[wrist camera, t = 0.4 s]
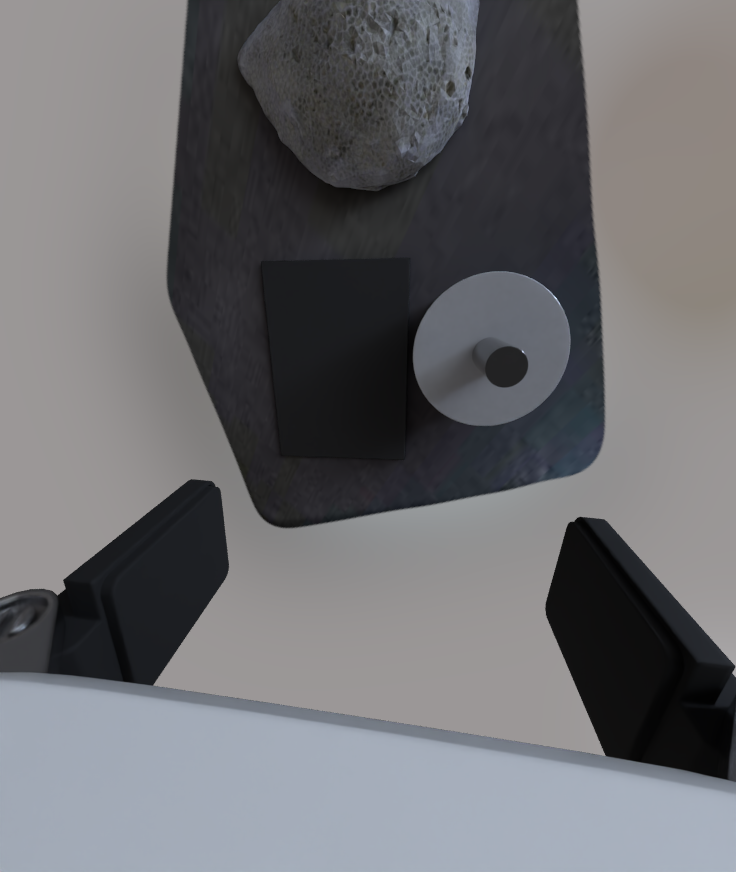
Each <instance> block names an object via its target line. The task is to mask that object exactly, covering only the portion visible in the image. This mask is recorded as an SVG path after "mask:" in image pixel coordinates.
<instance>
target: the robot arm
mask: <svg viewBox="0 0 736 872" xmlns="http://www.w3.org/2000/svg"><path fill="white" fill-rule="evenodd" d="M228 569H229V562H228V553H227V544H226V536H225V526H224V517H223V508H222V499H221V492H220V489H219V488H218V487H215V484H214V483H213V482H212V481H204V480H192V479H191V480H189V481H187V482H186V483H185V484H184V485H182V486H181V487H180V488H179V489H178V490H176V491H175V492H174V493H172V494H171V495H170V496H169V497H167V498H166V499H165V500H164V501H162V502H161V503H160V504H158V505H157V506H156V507H155V508H153V509H152V510H151V511H150V512H148V513H147V514H146V515H145V516H143V517H142V518H141V519H140V520H138V521H137V522H136V523H135V524H133V525H132V526H131V527H130V528H128V529H127V530H126V531H124V532H123V533H122V534H121V535H119V536H118V537H117V538H116V539H114V540H113V541H112V542H111V543H109V544H108V545H107V546H106V547H104V548H103V549H102V550H101V551H99V552H98V553H97V554H95V556H93V557H92V558H90V559H89V560H88V561H87V562H85V563H84V564H83V565H82V566H80V567H79V568H78V569H77V570H75V571H74V572H73V573H72V574H70V575H69V576H68V577H67V578H65V579H64V580H63V581H64V584H65V587H66V589H65V590H64V591H63V592H62V593H60V594H59V595H58V596H57V595H56V594H55V593H54V592H53V591H50V590H45V589H30V590H26V591H21V592H16V593H14V594H11V595H8V596H5V597H2V598H0V872H736V677H735V676H734V675H733V674H732V672H733V670H734V668H735V665H734V664H733V663H732V662H731V661H730V660H729V659H728V658H727V656H726V655H725V654H724V653H723V652H722V651H721V650H720V649H719V647H718V646H717V645H716V644H715V643H714V642H713V641H712V640H711V639H710V637H709V636H708V635H707V634H706V633H705V632H704V630H702V628H701V627H700V626H699V625H698V624H697V623H696V621H695V620H694V619H693V618H692V617H691V616H690V615H689V614H688V612H687V611H686V610H685V609H684V608H683V607H682V606H681V605H680V604H679V602H678V601H677V600H676V599H675V598H674V597H673V596H672V594H671V593H670V592H669V591H668V590H667V589H666V588H665V587H664V585H663V584H662V583H661V582H660V581H659V580H658V579H657V578H656V576H655V575H654V574H653V573H652V572H651V571H650V570H649V569H648V567H647V566H646V565H645V564H644V563H643V562H642V561H641V559H639V557H638V556H637V555H636V554H635V553H634V552H633V550H632V549H631V548H630V547H629V546H628V545H627V544H626V543H625V541H624V540H623V539H622V538H621V537H620V536H619V535H618V534H617V533H616V531H615V530H614V529H613V528H612V527H611V526H610V525H609V523H608V522H607V521H605V520H604V519H595V518H585V517H579V518H577V519H576V520H575V522H570V523H569V524H568V526H567V528H566V532H565V536H564V539H563V543H562V547H561V550H560V554H559V557H558V561H557V565H556V568H555V572H554V576H553V579H552V583H551V586H550V590H549V594H548V597H547V601H546V608H545V609H546V616H547V619H548V621H549V624H550V626H551V628H552V631H553V633H554V636H555V638H556V640H557V643H558V645H559V647H560V650H561V652H562V654H563V657H564V659H565V661H566V664H567V666H568V668H569V671H570V673H571V675H572V678H573V680H574V682H575V685H576V687H577V690H578V692H579V694H580V696H581V699H582V701H583V704H584V706H585V708H586V711H587V713H588V715H589V718H590V720H591V722H592V725H593V727H594V729H595V732H596V734H597V736H598V739H599V741H600V744H601V746H602V748H603V751H604V753H605V755H606V756H601V755H595V754H590V753H585V752H579V751H573V750H566V749H560V748H554V747H548V746H542V745H535V744H529V743H522V742H517V741H510V740H504V739H497V738H491V737H485V736H479V735H472V734H467V733H460V732H454V731H448V730H442V729H435V728H428V727H422V726H416V725H410V724H403V723H397V722H390V721H384V720H377V719H370V718H365V717H358V716H352V715H345V714H338V713H332V712H325V711H319V710H312V709H306V708H298V707H292V706H285V705H280V704H272V703H266V702H259V701H253V700H246V699H239V698H233V697H226V696H219V695H212V694H205V693H198V692H192V691H185V690H178V689H172V688H165V687H158V686H153V684H154V683H155V681H156V680H157V679H158V677H159V676H160V674H161V673H162V671H163V670H164V668H165V667H166V665H167V664H168V662H169V661H170V659H171V658H172V656H173V655H174V654H175V652H176V651H177V649H178V647H179V646H180V645H181V643H182V642H183V640H184V639H185V637H186V636H187V634H188V633H189V631H190V630H191V628H192V627H193V626H194V624H195V622H196V621H197V620H198V618H199V617H200V615H201V614H202V612H203V611H204V609H205V608H206V606H207V605H208V604H209V602H210V601H211V599H212V598H213V596H214V595H215V593H216V592H217V590H218V589H219V587H220V586H221V584H222V583H223V581H224V580H225V578H226V576H227V574H228Z"/></svg>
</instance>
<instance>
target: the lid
mask: <svg viewBox="0 0 736 872" xmlns="http://www.w3.org/2000/svg"><path fill="white" fill-rule="evenodd" d="M569 352H570V330H569V325H568V321H567V318H566V315H565V313H564V310H563V308H562V307H561V305H560V303H559V302H558V300H557V299H556V298H555V296H554V295H553V294H552V293H551V292H550V291H549V290H548V289H547V288H546V287H544V286H543V285H542V284H540V283H539V282H537V281H536V280H534V279H531V278H529V277H527V276H524V275H521V274H517V273H512V272H504V271H499V272H487V273H481V274H478V275H474V276H471V277H468V278H466V279H464V280H461V281H459V282H458V283H456V284H454V285H453V286H451V287H450V288H448V289H447V290H446V291H444V292H443V293H442V294H441V295H440V296H439V297H438V298H437V299H436V300H435V301H434V302H433V303H432V305H431V306H430V307H429V308H428V310H427V311H426V313H425V315H424V316H423V318H422V320H421V322H420V324H419V327H418V329H417V332H416V336H415V340H414V346H413V366H414V372H415V376H416V379H417V382H418V385H419V387H420V389H421V391H422V392H423V394H424V396H425V397H426V398H427V400H428V401H429V402H430V403H431V404H432V405H433V406H434V407H435V408H436V409H437V410H438V411H440V412H441V413H442V414H444V415H445V416H447V417H449V418H451V419H453V420H455V421H458V422H461V423H464V424H468V425H475V426H492V425H499V424H504V423H507V422H510V421H513V420H516V419H518V418H520V417H522V416H524V415H526V414H528V413H529V412H531V411H532V410H534V409H535V408H536V407H538V406H539V405H540V404H541V403H542V402H543V401H544V400H545V399H546V398H547V397H548V396H549V395H550V394H551V393H552V391H553V390H554V389H555V387H556V386H557V384H558V383H559V381H560V379H561V377H562V375H563V373H564V371H565V368H566V365H567V362H568V357H569Z"/></svg>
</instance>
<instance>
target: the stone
mask: <svg viewBox="0 0 736 872" xmlns="http://www.w3.org/2000/svg"><path fill="white" fill-rule="evenodd" d="M479 5H480V3H479V0H281V1H280V2H279V3H278V4H277V5H276V6H275V7H274V8H273V9H272V10H271V11H270V13H269V14H268V15H267V17H266V18H265V19H264V20H262V21H261V22H260V23H259V24H258V26H257V27H256V29H255V30H254V32H253V33H252V34H251V35H250V36H249V37H248V39H247V40H246V41H245V43H244V45H243V46H242V48H241V49H240V51H239V54H238V57H237V59H238V66H239V69H240V71H241V73H242V75H243V77H244V79H245V80H246V82H247V83H248V84H249V86H251V87H252V88H253V89H254V92H255V95H256V97H257V99H258V101H259V103H260V105H261V107H262V109H263V111H264V114H265V115H266V117H267V118H268V119H269V121H270V122H271V123H272V125H273V126H274V127H275V129H276V130H277V132H278V135H279V138H280V140H281V142H282V143H284V144H285V145H286V146H288V147H289V148H290V149H291V150H292V152H293V153H294V154H295V155H296V157H297V158H298V160H299V161H300V162H301V163H302V164H303V165H304V166H305V167H306V168H307V169H308V170H309V171H310V172H311V173H313V174H314V175H316V176H317V177H318V178H320V179H322V180H323V181H324V182H325V183H329V184H331V185H333V186H335V187H347V188H353V189H362V190H372V191H378V190H381V189H382V188H385V187H387V186H389V185H393V184H396V183H399V182H402V181H405V180H408V179H411V178H413V177H415V175H416V174H417V173H418V170H420V169H421V168H422V167H423V166H424V165H426V164H427V163H428V162H430V161H431V160H432V159H433V158H434V157H435V156H436V155H437V154H438V153H440V152H441V151H442V149H443V148H444V146H445V145H446V143H447V141H448V140H449V139H450V137H451V136H452V135H453V133H454V132H455V131H456V130H457V129H458V128H459V127H460V126H461V125H462V123H463V121H464V119H465V117H466V116H467V113H468V109H469V107H468V97H469V92H470V87H471V81H472V75H473V70H474V63H475V55H476V26H477V18H478V11H479Z"/></svg>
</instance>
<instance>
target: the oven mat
mask: <svg viewBox="0 0 736 872" xmlns="http://www.w3.org/2000/svg"><path fill="white" fill-rule="evenodd" d="M261 268H262V277H263V287H264V296H265V306H266V315H267V325H268V334H269V344H270V353H271V362H272V372H273V381H274V391H275V400H276V410H277V419H278V429H279V438H280V448H281V455H282V456H310V457H338V458H365V459H393V460H405V432H406V394H407V356H408V318H409V280H410V258H381V259H341V260H300V261H261Z"/></svg>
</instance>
